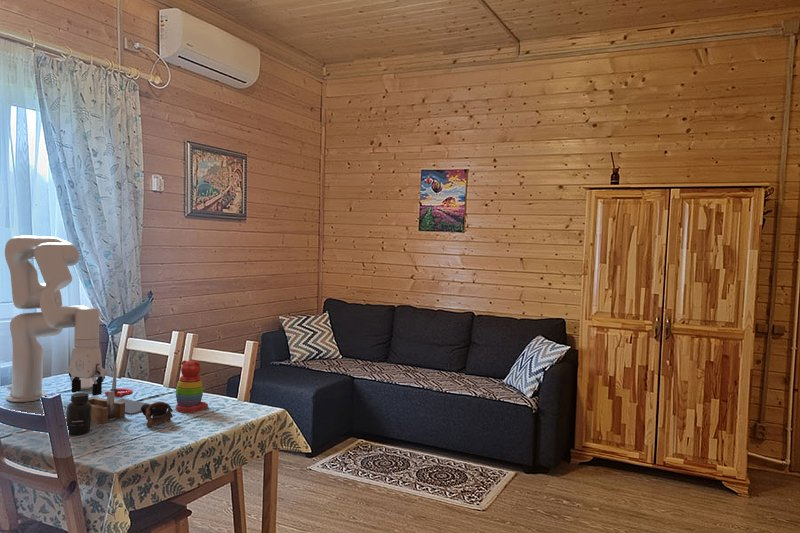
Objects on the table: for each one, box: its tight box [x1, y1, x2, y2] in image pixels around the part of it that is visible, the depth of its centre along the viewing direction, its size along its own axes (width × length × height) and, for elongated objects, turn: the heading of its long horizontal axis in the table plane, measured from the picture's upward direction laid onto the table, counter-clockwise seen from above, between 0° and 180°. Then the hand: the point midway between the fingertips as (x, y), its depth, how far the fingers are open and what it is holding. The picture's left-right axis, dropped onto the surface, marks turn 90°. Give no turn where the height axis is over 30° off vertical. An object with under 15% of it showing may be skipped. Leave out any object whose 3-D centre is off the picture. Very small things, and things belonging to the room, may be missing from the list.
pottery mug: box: [141, 401, 174, 428], centre depth 196 cm, size 12×10×8 cm
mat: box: [115, 398, 155, 416], centre depth 213 cm, size 17×12×1 cm
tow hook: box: [104, 361, 133, 397], centre depth 231 cm, size 8×13×9 cm
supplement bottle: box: [65, 392, 92, 437], centre depth 184 cm, size 7×7×12 cm
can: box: [80, 378, 94, 390], centre depth 236 cm, size 7×7×12 cm
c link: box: [88, 396, 126, 425], centre depth 200 cm, size 14×9×5 cm, turn 68°
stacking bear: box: [175, 360, 209, 413], centre depth 214 cm, size 11×10×18 cm
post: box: [106, 390, 118, 422], centre depth 197 cm, size 4×4×10 cm
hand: (86, 393), depth 201 cm, fingers open, 9 cm apart
